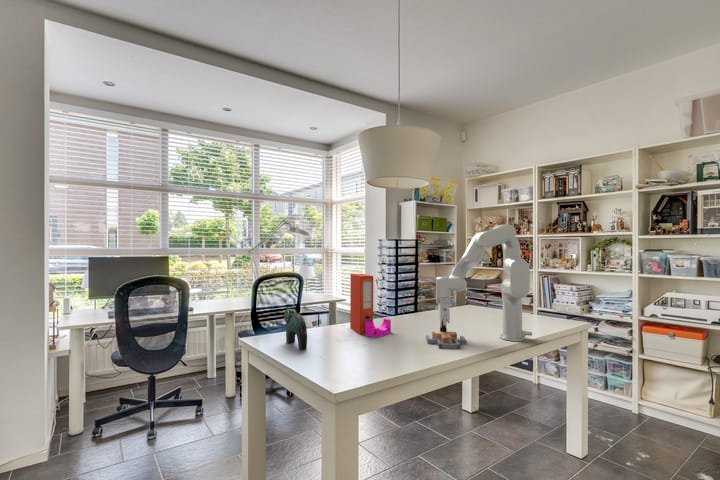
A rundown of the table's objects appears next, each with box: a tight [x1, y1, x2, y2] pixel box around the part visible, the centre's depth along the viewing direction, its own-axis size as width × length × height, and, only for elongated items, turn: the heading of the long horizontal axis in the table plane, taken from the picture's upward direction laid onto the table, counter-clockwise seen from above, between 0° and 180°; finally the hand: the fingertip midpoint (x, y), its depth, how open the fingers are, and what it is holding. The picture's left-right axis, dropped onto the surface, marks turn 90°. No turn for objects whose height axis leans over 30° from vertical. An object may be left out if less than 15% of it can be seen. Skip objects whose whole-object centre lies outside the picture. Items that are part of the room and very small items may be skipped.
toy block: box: [364, 318, 392, 338], centre depth 204 cm, size 15×6×8 cm, turn 126°
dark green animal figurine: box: [283, 304, 308, 351], centre depth 182 cm, size 20×6×20 cm, turn 33°
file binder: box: [349, 273, 374, 336], centre depth 212 cm, size 8×17×32 cm, turn 19°
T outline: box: [425, 334, 467, 350], centre depth 184 cm, size 19×16×2 cm
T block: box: [431, 331, 458, 344], centre depth 187 cm, size 12×12×4 cm
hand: (443, 335), depth 195 cm, fingers closed
